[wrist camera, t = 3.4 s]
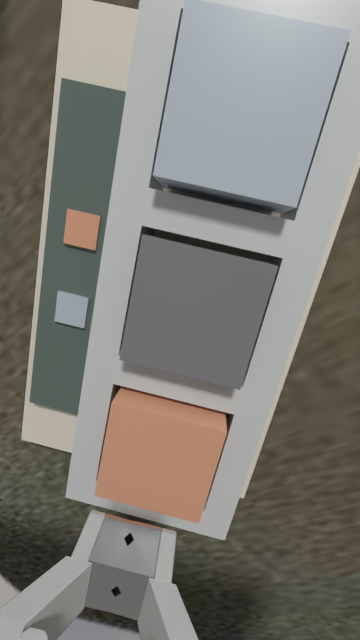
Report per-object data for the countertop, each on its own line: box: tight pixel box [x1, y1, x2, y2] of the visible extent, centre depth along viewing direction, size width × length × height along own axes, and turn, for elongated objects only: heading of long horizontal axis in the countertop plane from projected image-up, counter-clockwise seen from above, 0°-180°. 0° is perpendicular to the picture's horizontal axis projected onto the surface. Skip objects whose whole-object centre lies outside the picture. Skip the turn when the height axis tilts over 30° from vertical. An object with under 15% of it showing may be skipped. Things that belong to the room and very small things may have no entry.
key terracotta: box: [95, 386, 227, 524], centre depth 14 cm, size 5×5×2 cm
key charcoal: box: [119, 234, 278, 390], centre depth 13 cm, size 5×5×2 cm
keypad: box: [21, 0, 360, 540], centre depth 14 cm, size 14×22×4 cm, turn 167°
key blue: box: [153, 0, 351, 214], centre depth 11 cm, size 5×5×2 cm
